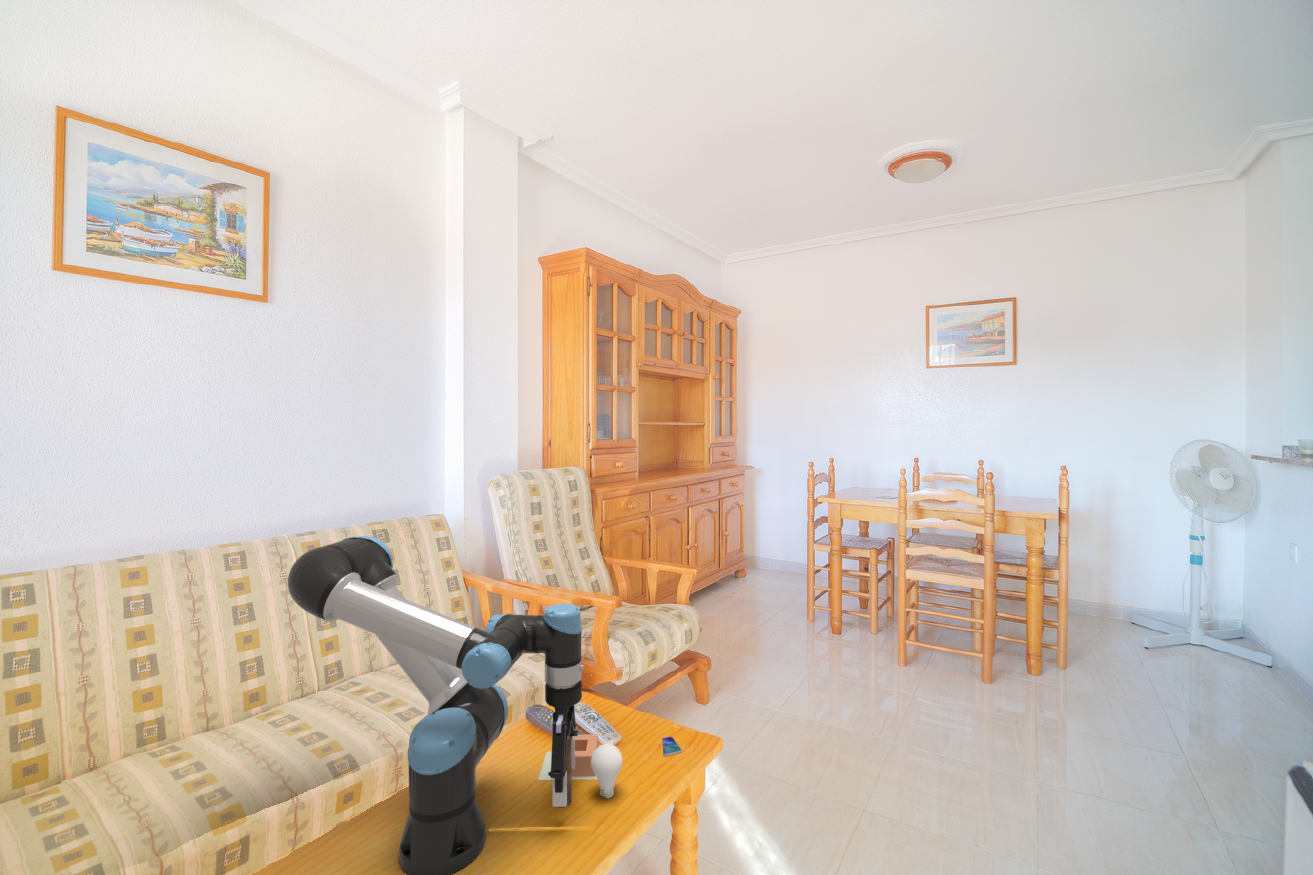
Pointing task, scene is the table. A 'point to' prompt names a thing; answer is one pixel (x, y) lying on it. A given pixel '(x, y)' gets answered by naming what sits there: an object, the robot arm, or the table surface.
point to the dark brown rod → (569, 772)
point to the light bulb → (606, 767)
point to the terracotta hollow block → (584, 754)
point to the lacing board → (547, 768)
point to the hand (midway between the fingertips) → (564, 785)
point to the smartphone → (670, 746)
